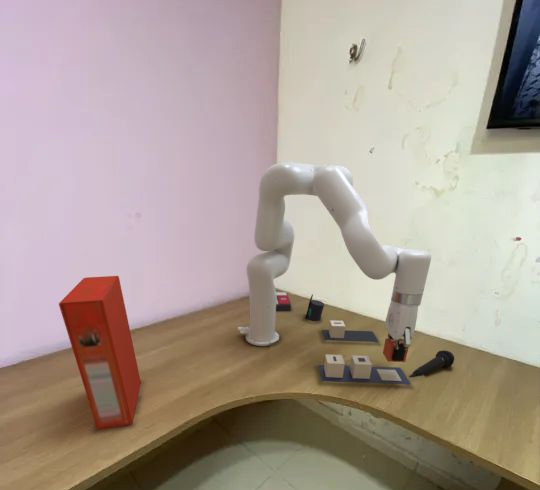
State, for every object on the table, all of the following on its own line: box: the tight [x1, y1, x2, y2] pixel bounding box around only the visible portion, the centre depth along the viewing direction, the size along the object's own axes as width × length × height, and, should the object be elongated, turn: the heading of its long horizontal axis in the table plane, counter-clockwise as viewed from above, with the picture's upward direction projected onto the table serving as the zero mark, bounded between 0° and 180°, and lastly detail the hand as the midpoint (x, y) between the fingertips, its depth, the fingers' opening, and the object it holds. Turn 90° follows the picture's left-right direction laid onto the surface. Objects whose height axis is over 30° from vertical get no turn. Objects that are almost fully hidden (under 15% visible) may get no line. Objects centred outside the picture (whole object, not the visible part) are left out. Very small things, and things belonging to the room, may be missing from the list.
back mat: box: [321, 329, 379, 343], centre depth 118 cm, size 20×9×1 cm, turn 88°
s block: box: [382, 337, 410, 363], centre depth 90 cm, size 5×5×5 cm
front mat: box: [318, 364, 411, 385], centre depth 95 cm, size 26×9×1 cm, turn 88°
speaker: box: [304, 294, 325, 322], centre depth 131 cm, size 8×6×10 cm
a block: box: [328, 319, 346, 338], centre depth 117 cm, size 5×5×5 cm
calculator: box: [276, 291, 292, 312], centre depth 147 cm, size 11×4×15 cm
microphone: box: [408, 349, 455, 378], centre depth 98 cm, size 6×6×20 cm
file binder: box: [58, 275, 142, 431], centre depth 74 cm, size 8×17×32 cm, turn 14°
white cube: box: [323, 354, 346, 378], centre depth 94 cm, size 5×5×5 cm
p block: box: [349, 355, 373, 379], centre depth 94 cm, size 5×5×5 cm
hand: (394, 354), depth 91 cm, fingers closed on s block, 5 cm apart
